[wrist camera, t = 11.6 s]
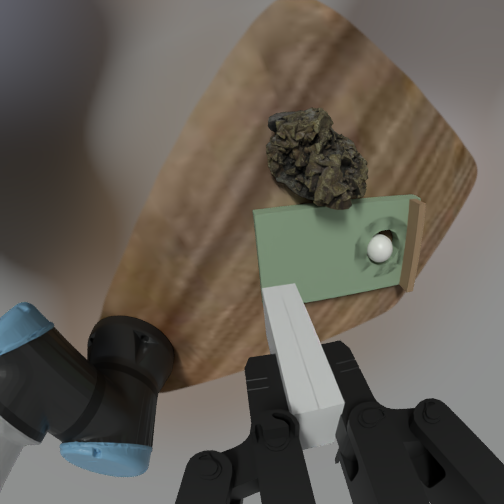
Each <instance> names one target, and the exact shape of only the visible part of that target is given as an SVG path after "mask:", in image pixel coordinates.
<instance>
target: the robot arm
mask: <svg viewBox="0 0 504 504" xmlns="http://www.w3.org/2000/svg"><path fill="white" fill-rule="evenodd" d="M262 296H263V306H264V316H265V326H266V335H267V339H268V344H269V348H270V353H271V354H270V355H263V356H257V357H250V358H249V359H248V361H247V364H246V366H245V376H246V384H247V392H248V401H249V409H250V416H251V430H250V435H249V436H248V438H247V439H246V440H245V441H244V442H243V443H242V444H240V445H238V446H236V447H234V448H232V449H229V450H227V451H224V452H221V453H220V452H217V451H213V450H211V451H202V452H199V453H197V454H195V455H194V456H193V457H192V458H190V460H189V462H188V463H187V466H186V469H185V472H184V475H183V479H182V482H181V485H180V489H179V492H178V495H177V499H176V502H175V504H243V498H245V497H247V496H250V495H252V494H254V493H257V492H260V495H261V502H262V504H316V503H315V499H314V495H313V491H312V487H311V483H310V479H309V475H308V471H307V467H306V463H305V459H304V455H303V451H302V450H304V449H308V448H313V447H318V446H321V445H326V444H330V443H334V441H335V437H336V439H337V442H338V445H339V449H338V452H337V455H336V458H335V463H338V462H339V460H340V463H341V467H342V470H343V473H344V476H345V479H346V483H347V486H348V489H349V492H350V496H351V499H352V502H353V504H430V503H431V504H504V464H503V463H502V462H501V461H500V460H499V459H498V458H497V457H496V456H495V455H494V454H493V453H492V451H490V449H489V448H488V447H487V446H486V445H485V444H484V443H483V442H482V441H481V440H480V439H479V438H478V437H477V436H476V435H475V434H474V433H473V432H472V431H471V430H470V429H469V428H468V427H467V426H466V425H465V423H464V422H463V421H462V420H461V419H460V418H459V417H458V416H456V414H454V412H453V411H452V410H451V409H450V408H449V407H448V406H447V405H445V403H443V402H442V401H440V400H437V399H434V398H432V399H425V400H423V401H421V402H420V403H419V404H418V405H417V406H416V407H415V408H410V409H390V408H386V407H384V406H382V405H380V404H379V403H378V402H377V401H376V400H375V398H374V396H373V394H372V392H371V390H370V388H369V386H368V384H367V382H366V380H365V378H364V376H363V374H362V372H361V370H360V369H359V366H358V364H357V362H356V360H355V358H354V356H353V354H352V352H351V350H350V348H349V347H347V346H346V345H345V344H344V343H342V342H341V341H335V342H331V343H326V344H321V343H320V341H319V339H318V336H317V334H316V331H315V329H314V327H313V324H312V322H311V320H310V317H309V315H308V313H307V310H306V308H305V305H304V303H303V301H302V298H301V296H300V294H299V292H298V289H297V287H296V285H295V283H293V284H287V285H280V286H274V287H267V288H262ZM87 350H88V354H87V359H86V358H85V357H84V356H82V355H81V354H80V353H79V352H78V351H77V350H76V349H75V348H74V347H73V346H72V345H71V344H70V343H69V342H68V341H67V340H66V339H65V338H64V337H63V336H62V335H61V334H60V333H59V331H58V330H57V329H56V328H55V327H54V324H53V323H52V322H49V321H48V320H47V319H46V318H45V317H44V316H43V315H42V314H41V313H40V312H39V311H38V309H37V308H36V307H35V306H33V305H32V304H30V303H27V302H21V303H19V304H17V305H15V306H14V307H13V308H12V309H10V310H9V311H8V312H7V313H5V314H4V315H3V316H2V317H1V318H0V491H1V489H2V487H3V485H4V483H5V481H6V479H7V477H8V475H9V473H10V471H11V469H12V467H13V465H14V463H15V462H16V460H17V458H18V456H19V454H20V452H21V450H22V449H23V447H24V446H26V445H38V444H41V442H42V440H43V438H44V437H45V435H46V433H47V432H49V433H50V434H52V435H53V436H55V437H56V438H57V439H59V440H60V441H61V442H62V444H60V453H61V455H62V456H63V457H64V458H65V459H66V460H67V461H69V462H70V463H72V464H74V465H76V466H78V467H80V468H83V469H86V470H89V471H92V472H96V473H99V474H104V475H109V476H117V477H134V476H138V475H141V474H143V473H144V472H146V470H147V469H148V466H149V460H150V455H151V452H152V445H153V433H154V423H155V414H156V405H157V397H158V393H159V391H160V390H161V388H162V387H163V385H164V383H165V382H166V380H167V378H168V377H169V375H170V374H171V371H172V368H173V362H174V351H173V348H172V345H171V344H170V342H169V340H168V339H167V338H166V336H165V335H164V334H163V333H162V332H161V331H159V330H158V329H157V328H155V327H154V326H152V325H151V324H149V323H147V322H145V321H143V320H140V319H137V318H133V317H129V316H111V317H107V318H104V319H102V320H101V321H99V322H98V323H97V324H96V325H95V326H94V328H93V330H92V332H91V334H90V336H89V340H88V349H87ZM429 502H430V503H429Z"/></svg>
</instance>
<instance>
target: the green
mask: <svg viewBox="0 0 504 504" xmlns="http://www.w3.org/2000/svg"><path fill="white" fill-rule="evenodd" d="M420 199H421V198H419V197H417V196H415V195H413V194H412V195H398V196H384V197H372V198H360V199H351V203H352V206H351V207H350V208H349V209H345V210H335V209H330V208H328V207H326V206H317V205H316V204H315V203H309V204H300V205H291V206H282V207H274V208H265V209H257V210H253V218H254V227H255V237H256V246H257V256H258V265H259V275H260V285H261V294H262V288H267V287H274V286H280V285H287V284H293V283H295V285H296V287H297V289H298V292H299V294H300V296H301V298H302V301H303V303H306V302H312V301H318V300H323V299H329V298H334V297H339V296H345V295H350V294H355V293H360V292H365V291H370V290H374V289H379V288H384V287H389V286H393V285H398V284H399V285H400V286H401V287H402V288H403V289H404V290H405V291H406V292H411V291H413V287H414V282H415V277H416V272H417V266H418V261H419V255H420V249H421V242H422V235H423V227H424V219H425V210H426V204H425V203H423V202H421V201H420ZM389 229H390V230H391V232H392V235H393V239H392V246H393V251H392V254H391V256H390V258H389V259H387V260H386V261H384V262H375V261H373V260H371V259H370V258H368V256H367V247H368V244H369V242H370V241H371V239H372V237H373V236H374V235H376V234H377V233H378V232H380V231H382V230H389ZM262 303H263V296H262ZM263 307H264V306H263Z"/></svg>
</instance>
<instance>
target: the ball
mask: <svg viewBox="0 0 504 504" xmlns="http://www.w3.org/2000/svg"><path fill="white" fill-rule="evenodd" d="M392 251H393V246H392V242H391V241H390V239H389V238H388V237H387V236H385V235H382V234H377V235H374V236H373V237H372V239H371V241H370V242H369V244H368V247H367V255H368V257H369V258H370V259H371V260H373V261H375V262H384V261H386V260H387V259H389V258H390V256H391V254H392Z"/></svg>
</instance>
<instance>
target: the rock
mask: <svg viewBox="0 0 504 504" xmlns="http://www.w3.org/2000/svg"><path fill="white" fill-rule="evenodd" d="M332 124H333V122H332V120H331V117H330V116H329V115H328V113H327V112H326V111H324V110H323V109H322V108H317V109H316V108H313V107H312V108H310V109H308V110H305V111H301V110H300V111H297V112H282V113H276V114H274V115H272V116H270V117H269V120H268V127H269V128H270V130H271V131H274V132H275V136H274V137H271V138H270V142H269V143H268V144H267V145H266V154H267V157H268V167H269V168H270V171H271V173H272V174H273V175H274V176H275V178H276V180H277V182H282V183H284V184H286V185H287V186H288V188H290V189H291V190H292V191H293V192H294V193H296V194H297V195H299V196H302V197H305V198H307V199H311V200H314V201H313V202H314V203H315V204H316V205H317V206H326V207H328V208H330V209H335V210H345V209H349V208H350V207H351V206H352V203H351V198H352V197H355V196H357V198H359V197H363V196H364V195H365V192H366V187H367V186H366V182H365V180H367V179H368V175H367V173H368V168H367V166H366V165H367V161H366V160H365V159H364V158H363V157H362V156H361V154H360V153H359V152H358V151H357V149H356V147H355V145H354V143H353V142H352V141H351V140H350V139H348V138H347V137H344V136H343V135H342V134H341V135H339V134H337V133H336V132H335V131H334V130H333V129H332Z"/></svg>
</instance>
